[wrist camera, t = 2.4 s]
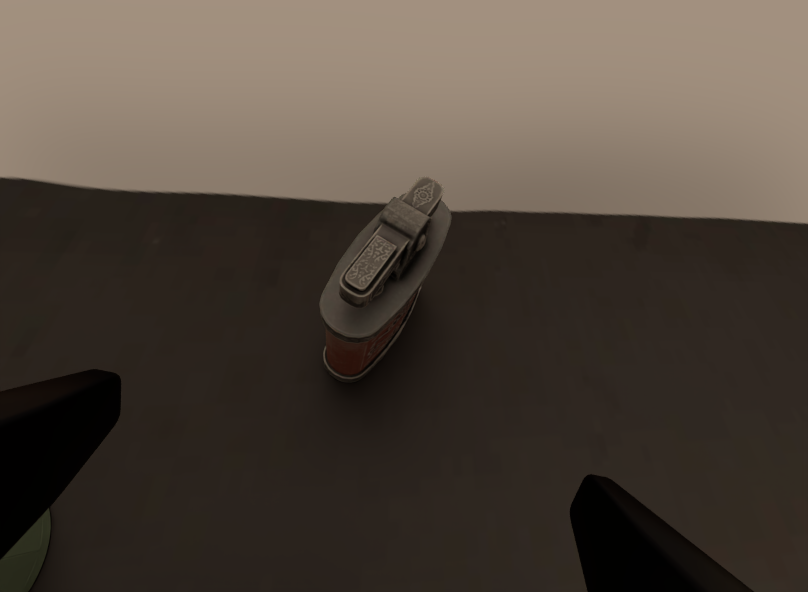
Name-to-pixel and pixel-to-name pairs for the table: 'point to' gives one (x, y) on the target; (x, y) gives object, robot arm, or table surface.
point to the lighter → (381, 280)
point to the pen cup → (26, 557)
